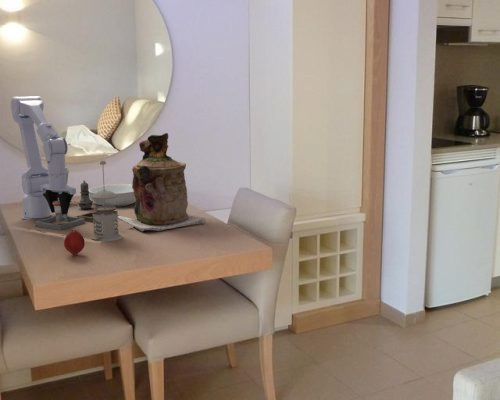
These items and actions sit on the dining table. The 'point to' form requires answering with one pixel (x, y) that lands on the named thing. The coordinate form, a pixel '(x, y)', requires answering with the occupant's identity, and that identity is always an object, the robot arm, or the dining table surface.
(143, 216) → the cookie jar
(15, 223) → the dining table surface
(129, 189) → the serving bowl
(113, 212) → the french press
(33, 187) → the robot arm
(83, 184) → the grey tiered figure
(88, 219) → the board
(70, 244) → the onion
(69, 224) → the tray
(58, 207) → the pin
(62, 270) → the dining table surface
